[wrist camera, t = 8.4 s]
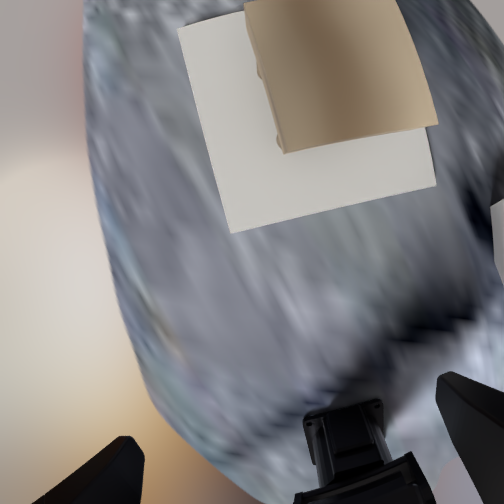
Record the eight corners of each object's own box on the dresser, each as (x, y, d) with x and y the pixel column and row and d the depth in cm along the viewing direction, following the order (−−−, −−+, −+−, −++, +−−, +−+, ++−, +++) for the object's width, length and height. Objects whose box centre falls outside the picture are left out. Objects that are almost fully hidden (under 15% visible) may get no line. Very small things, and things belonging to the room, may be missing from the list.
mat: (430, 184, 18) (436, 185, 17) (231, 231, 19) (230, 233, 18) (375, 1, 15) (379, -4, 14) (179, 33, 16) (176, 28, 15)
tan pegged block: (348, 44, 15) (390, -11, 8) (377, 137, 17) (438, 124, 10) (249, 60, 16) (243, 3, 9) (277, 158, 17) (288, 151, 10)
